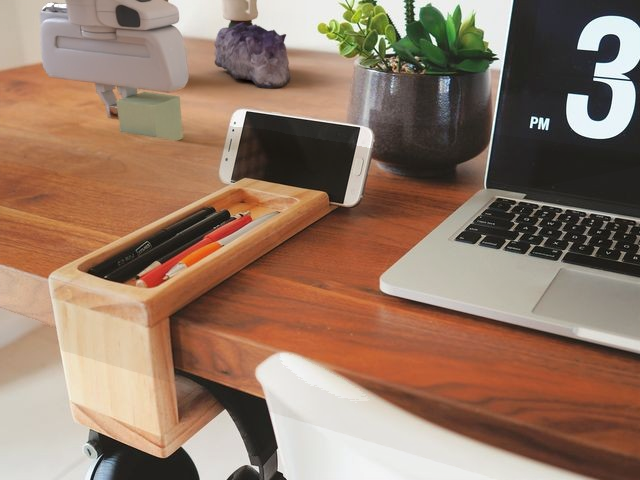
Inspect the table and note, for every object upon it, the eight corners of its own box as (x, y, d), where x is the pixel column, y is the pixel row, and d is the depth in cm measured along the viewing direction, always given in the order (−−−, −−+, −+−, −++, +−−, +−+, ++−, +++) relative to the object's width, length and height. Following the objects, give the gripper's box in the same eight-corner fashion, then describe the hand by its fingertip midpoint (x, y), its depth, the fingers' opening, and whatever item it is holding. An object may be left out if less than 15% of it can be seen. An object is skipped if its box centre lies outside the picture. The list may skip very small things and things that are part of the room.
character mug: (269, 55, 148) (267, -13, 142) (238, 58, 144) (234, -12, 139) (246, 47, 156) (243, -18, 150) (215, 49, 152) (211, -17, 146)
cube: (121, 143, 92) (116, 100, 89) (149, 132, 96) (144, 91, 94) (157, 149, 90) (152, 105, 88) (183, 138, 95) (179, 96, 92)
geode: (315, 85, 125) (308, 26, 119) (253, 100, 120) (243, 39, 115) (267, 59, 140) (260, 6, 135) (211, 72, 135) (201, 17, 130)
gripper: (18, 3, 88) (40, 115, 95) (158, 15, 82) (171, 134, 88) (56, -2, 94) (74, 104, 100) (190, 9, 87) (200, 122, 93)
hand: (120, 118), depth 94 cm, fingers closed
